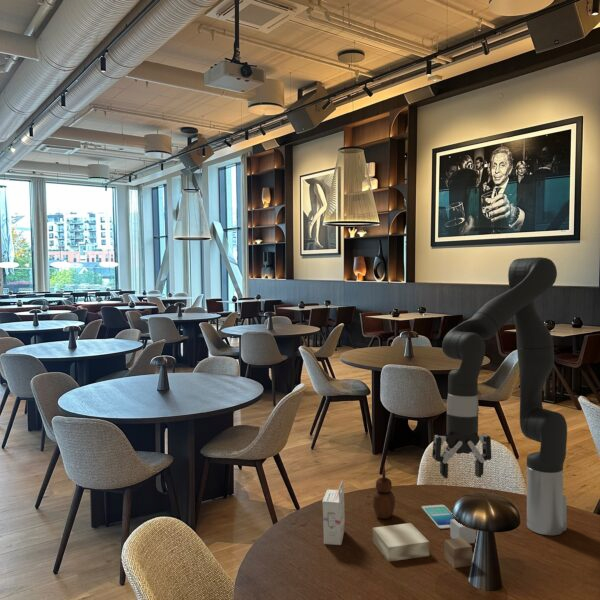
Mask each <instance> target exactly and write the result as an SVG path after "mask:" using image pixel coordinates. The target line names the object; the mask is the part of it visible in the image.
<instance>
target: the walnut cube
mask: <svg viewBox="0 0 600 600" xmlns="http://www.w3.org/2000/svg"><path fill="white" fill-rule="evenodd" d="M443 542H444V545H443V547H444V548H443V549H444V555H443V556H444V560H445V561H446V562H447V563H449V565H451V566H452V568H453V569H456V568H463V567H470V564H471V560H472V561H473V546H472V545H471V543H470V544H468V543H467V542H466V541H465V540H464V539H463V538H454V539H452V538H449V539H444V541H443Z"/></svg>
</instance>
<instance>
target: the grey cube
mask: <svg viewBox="0 0 600 600" xmlns="http://www.w3.org/2000/svg"><path fill="white" fill-rule="evenodd" d="M449 530H450V533H449V535H450V539H454V538H463V539H464V540H465V541H466V542H467V543H468V544H470V545H471V544H476V543H475V539H476V540H477V536H476V535H477V531H476V530H477V529H476V530H473V529H470V528H467V527H465V526H463V525H462V524H460V523H458V522H457V521H456V520H455V519H451V520H450V529H449Z"/></svg>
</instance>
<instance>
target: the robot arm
mask: <svg viewBox="0 0 600 600" xmlns="http://www.w3.org/2000/svg"><path fill="white" fill-rule="evenodd" d="M557 276H558V272H557V267H556V264H555V263H554V262H553V260H551V259H550V258H548V257H542V256H539V257H524V258H516V259H514V260H512V261H511V263H510V265H509V267H508V275H507V278H508V286H509V288H508V290H507V291H505V292H503V293H501V294H499V295H497V296H494V297H493V298H491V299H490V300H488V301H487V302H486V303H485V304H483V305H482V306H481V308H479V309H478V310H477V312H475V313H474V314H473V315H472V316H471V317H470V318H469V319H467V320H465V321H462V322H461V323H459V324H458V325H456V326H454V327H453V328H452V329H450V330H449V331H448V332H447V333H446V334H445V336H444V337H443V340H442V344H441V349H442V352H443V354H445V356H446V357H448V358H450V359H453V360H460V361H461V364H460V365H459V368H456V369H453V370H450V372H449V373H448V376H447V377H448V379H447V381H448V382H447V399H446V434H445V435H438V434H434V435H433V439H432V440H433V442H432V456H431V457H432V458H433V459H434V460H435V461H436V462H439V473H440V475H441V477H443V478H444V479H448V478H449V463H448V462H449V460H450V459H451V458H452V457H454V456H455V454H457V455H460V454H465V455H467V454H470V453H471V454H472V455H473V456H474V458H475V460H474V463H475V464H474V475H475V476H476V477H477V478H482V476H483V475H484V469H485V468H484V464H485V462H486V461H491V460H492V438H491V436H490V435H488V434H486V433H482V434H481V435H479V434H478V433H479V411H480V408H479V396H478V394H479V393H478V390H479V389H478V387H479V385H478V384H479V382H478V379H479V375H480V373H481V369H482V366H483V361H484V359H485V355H486V343H485V340H489V339H491V338H492V337H494V336H495V335H496V334H497V333H498V332H499V331H500V330H501V328H503V326H505V324H506V323H507V322H508V321H509V320H510V319H512V317H514V326H515V333H516V351H517V362H518V370H519V371H518V372H519V388H520V390H519V392H520V393H519V395H520V396H519V427H520V430H521V433H522V434H523V436H524V437H526V438H527V439H529V440H532V441H534V442H535V441H536V442H537V443H540V450H539V451H535V452H531V453H529V454H527V456H526V527H527V529H529V530H530V531H532V532H534V533H536V534H540V535H545V536H557V535H558V536H559V535H561V534H562V533H564V532H566V531H567V496H566V495H565V494H564V463H565V460H566V456H567V441H568V439H567V438H568V424H567V420H566V418H565V416H564V415H563V414H562V413H560V412H557V411H554V410H549V409H546V408H544V407H543V394H542V393H543V387H544V386H545V383H546V381H547V379H548V378H549V376H550V374H551V372H552V371H553V368H554V365H555V351H554V349H555V347H554V341H553V336H552V334H551V333H550V330H549V329H548V327H547V326H546V324H545V322H544V321H543V319H542V318H541V316H540V314H539V313H538V312H537V309H536V305H535V302H534V300H536V299H537V298H539V297H540V296H541V295H543V294H544V293H546V292H547V291H549V290H550V289H551V288H552V287H553V286H554V284H555V282H556V281H557V278H558V277H557ZM445 442H446V444H447V445H446V446H445V448H444V449H443V451H442V445H444V443H445ZM479 442H480V444H481V445H482V454H481V452H480V451H479V450H478V448H477V447H476V446H477V445H478V443H479ZM441 451H442V453H441Z"/></svg>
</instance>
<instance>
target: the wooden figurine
mask: <svg viewBox="0 0 600 600" xmlns="http://www.w3.org/2000/svg"><path fill="white" fill-rule="evenodd" d="M392 486H393V485H392V480H391V479H390V478H389V477H387V476H386V467H385V464H383V467H382V477H379V478H377V479H376V482H375V489H376V491H375V492H374V494H373V496H372V509H373V510H374V514H375V516H376V517H377V518H378V519H388V518H389V519H390V518H391V517H392V516H393V513H394V509H395V507H396V498H395V497H396V496H395V495H394V493H393V492H392Z"/></svg>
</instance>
